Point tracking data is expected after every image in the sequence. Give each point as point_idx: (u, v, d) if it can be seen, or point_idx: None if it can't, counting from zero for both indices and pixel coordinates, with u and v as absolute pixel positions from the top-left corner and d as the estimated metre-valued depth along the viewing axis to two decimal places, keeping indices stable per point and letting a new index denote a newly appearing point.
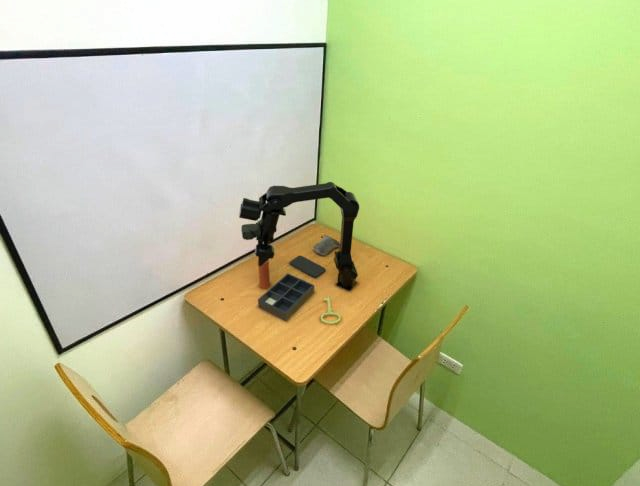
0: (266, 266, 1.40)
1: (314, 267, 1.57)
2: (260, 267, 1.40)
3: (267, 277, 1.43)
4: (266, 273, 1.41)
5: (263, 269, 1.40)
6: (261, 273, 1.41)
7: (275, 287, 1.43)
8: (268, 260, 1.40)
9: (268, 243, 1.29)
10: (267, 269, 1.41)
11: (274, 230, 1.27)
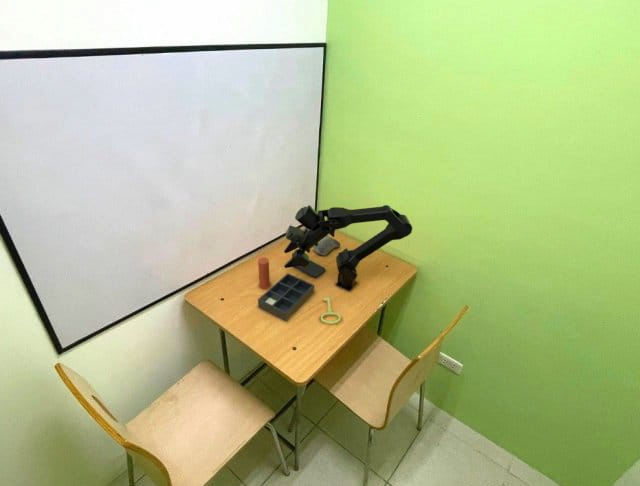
0: (266, 266, 1.40)
1: (314, 267, 1.57)
2: (260, 267, 1.40)
3: (267, 277, 1.43)
4: (266, 273, 1.41)
5: (263, 269, 1.40)
6: (261, 273, 1.41)
7: (275, 287, 1.43)
8: (268, 260, 1.40)
9: (304, 252, 1.35)
10: (267, 269, 1.41)
11: (316, 244, 1.34)
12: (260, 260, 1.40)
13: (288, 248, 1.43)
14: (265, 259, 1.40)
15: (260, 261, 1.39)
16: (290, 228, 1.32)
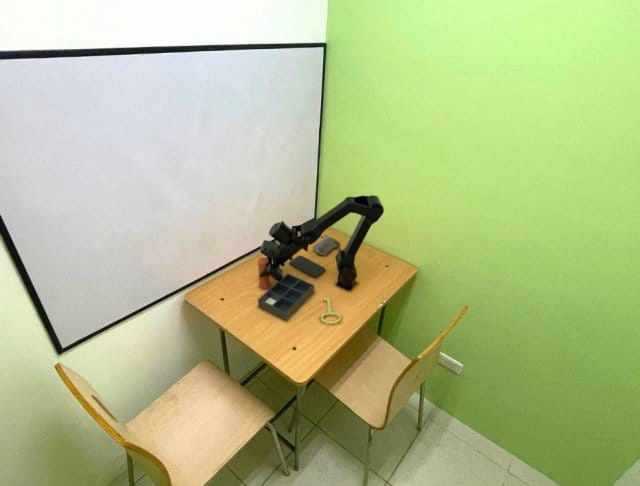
0: None
1: (314, 267, 1.57)
2: (260, 267, 1.40)
3: (267, 277, 1.43)
4: None
5: (262, 269, 1.40)
6: None
7: (275, 287, 1.43)
8: (268, 260, 1.40)
9: None
10: None
11: (290, 258, 1.37)
12: (260, 260, 1.40)
13: None
14: (265, 259, 1.40)
15: (260, 261, 1.39)
16: (264, 243, 1.35)
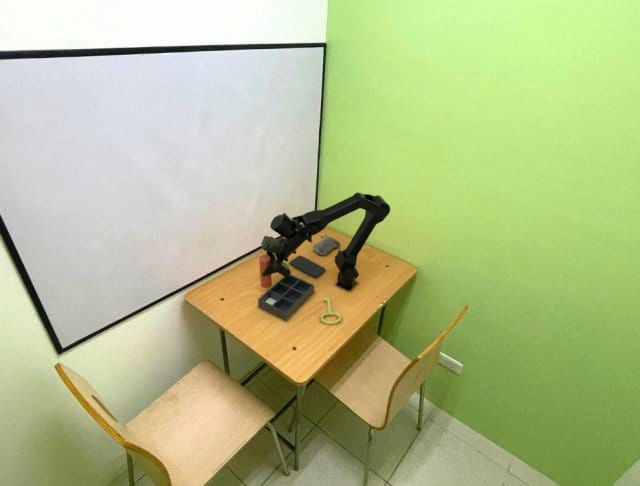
0: (269, 263, 1.31)
1: (314, 267, 1.57)
2: (262, 265, 1.30)
3: (270, 275, 1.34)
4: None
5: (265, 267, 1.31)
6: None
7: (275, 287, 1.43)
8: None
9: None
10: None
11: (294, 252, 1.30)
12: (261, 258, 1.30)
13: None
14: (266, 256, 1.31)
15: (262, 259, 1.30)
16: (266, 239, 1.26)
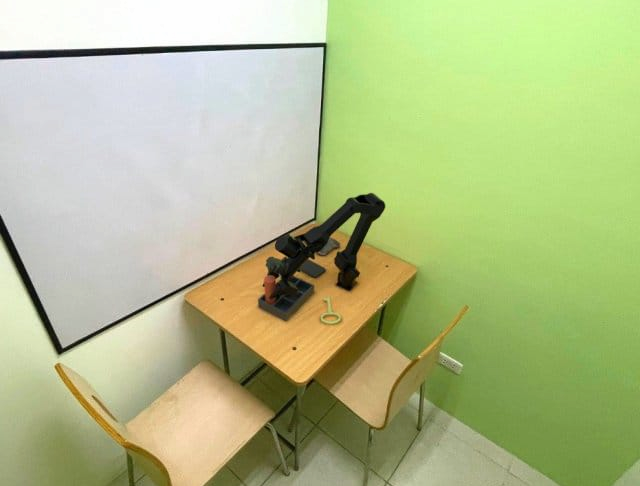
0: (274, 284, 1.31)
1: (314, 267, 1.57)
2: (268, 286, 1.30)
3: None
4: None
5: (271, 288, 1.31)
6: (269, 292, 1.32)
7: None
8: (274, 277, 1.31)
9: None
10: (275, 287, 1.32)
11: (299, 270, 1.31)
12: (266, 279, 1.30)
13: None
14: (271, 277, 1.31)
15: (267, 280, 1.30)
16: (271, 260, 1.26)
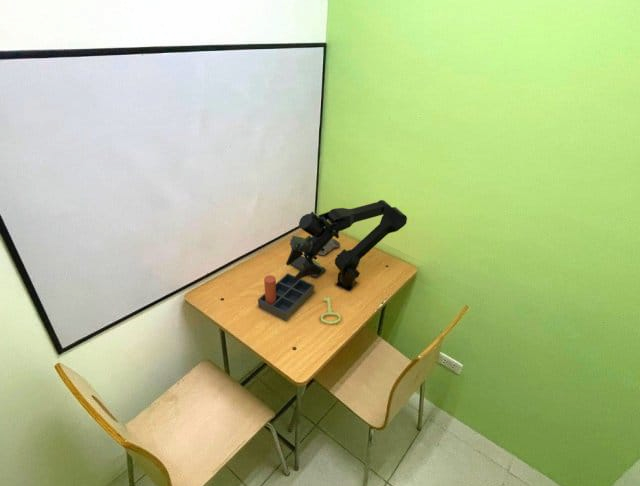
0: (274, 284, 1.31)
1: None
2: (268, 286, 1.30)
3: (275, 295, 1.35)
4: (274, 291, 1.33)
5: (271, 288, 1.31)
6: (269, 292, 1.32)
7: None
8: (274, 277, 1.31)
9: None
10: (275, 287, 1.32)
11: (323, 249, 1.31)
12: (266, 279, 1.30)
13: (290, 259, 1.37)
14: (271, 277, 1.31)
15: (267, 280, 1.30)
16: (295, 239, 1.26)
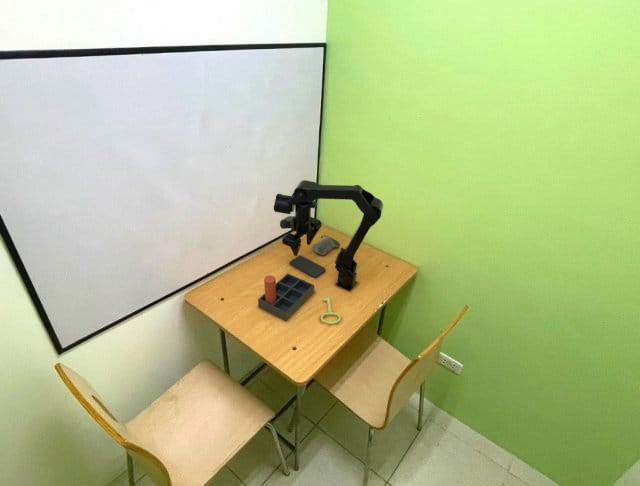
0: (274, 284, 1.31)
1: (314, 267, 1.57)
2: (268, 286, 1.30)
3: (275, 295, 1.35)
4: (274, 291, 1.33)
5: (271, 288, 1.31)
6: (269, 292, 1.32)
7: None
8: (274, 277, 1.31)
9: (301, 235, 1.37)
10: (275, 287, 1.32)
11: (304, 223, 1.34)
12: (266, 279, 1.30)
13: (307, 239, 1.47)
14: (271, 277, 1.31)
15: (267, 280, 1.30)
16: (285, 218, 1.41)
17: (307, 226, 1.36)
